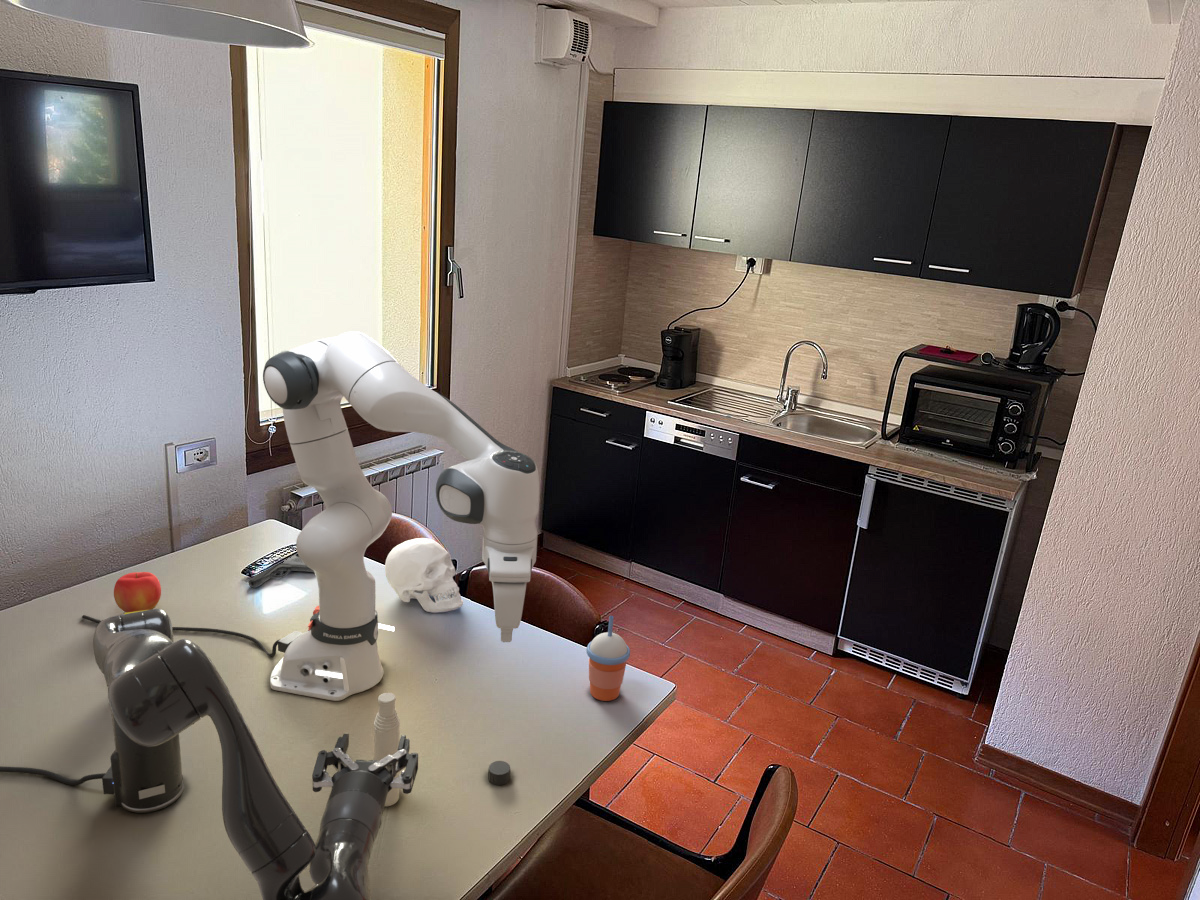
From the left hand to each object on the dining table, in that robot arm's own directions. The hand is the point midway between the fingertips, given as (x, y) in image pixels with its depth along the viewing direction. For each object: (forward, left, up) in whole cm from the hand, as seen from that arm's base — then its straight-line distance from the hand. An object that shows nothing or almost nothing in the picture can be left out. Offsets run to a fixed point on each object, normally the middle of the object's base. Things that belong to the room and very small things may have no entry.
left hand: (374, 739), depth 129 cm
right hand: (+19, +17, +11) cm, 27 cm away
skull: (-2, +82, -20) cm, 85 cm away
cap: (+19, +17, -18) cm, 31 cm away
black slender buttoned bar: (-39, +93, -20) cm, 103 cm away
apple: (-66, +71, -20) cm, 99 cm away
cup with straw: (+40, +44, -20) cm, 62 cm away
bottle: (0, +11, -20) cm, 23 cm away
